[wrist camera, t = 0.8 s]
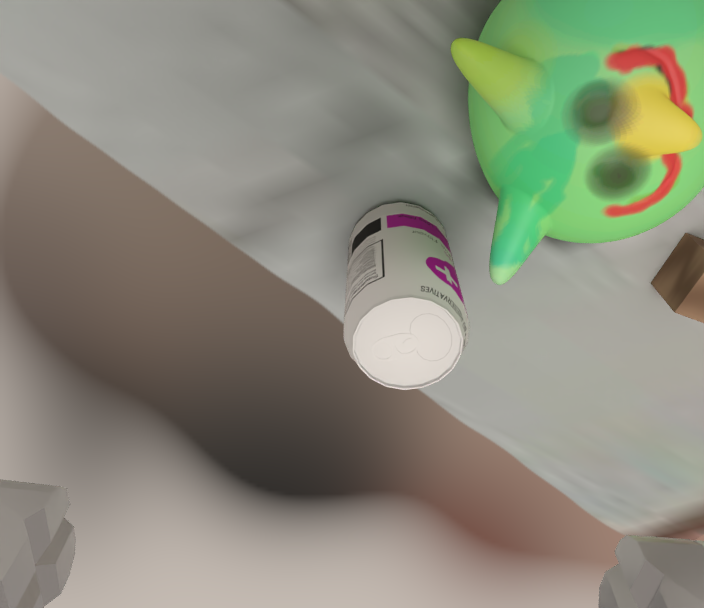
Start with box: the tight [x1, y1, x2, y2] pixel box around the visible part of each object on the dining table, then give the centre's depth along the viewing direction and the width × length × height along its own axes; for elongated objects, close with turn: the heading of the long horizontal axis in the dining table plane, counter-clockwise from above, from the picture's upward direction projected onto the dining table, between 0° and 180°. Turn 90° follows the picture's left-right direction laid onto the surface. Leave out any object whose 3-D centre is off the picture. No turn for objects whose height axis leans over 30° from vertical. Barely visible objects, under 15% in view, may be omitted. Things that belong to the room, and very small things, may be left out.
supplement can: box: [344, 202, 470, 390], centre depth 47 cm, size 8×8×15 cm
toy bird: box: [451, 0, 704, 285], centre depth 40 cm, size 18×17×15 cm
